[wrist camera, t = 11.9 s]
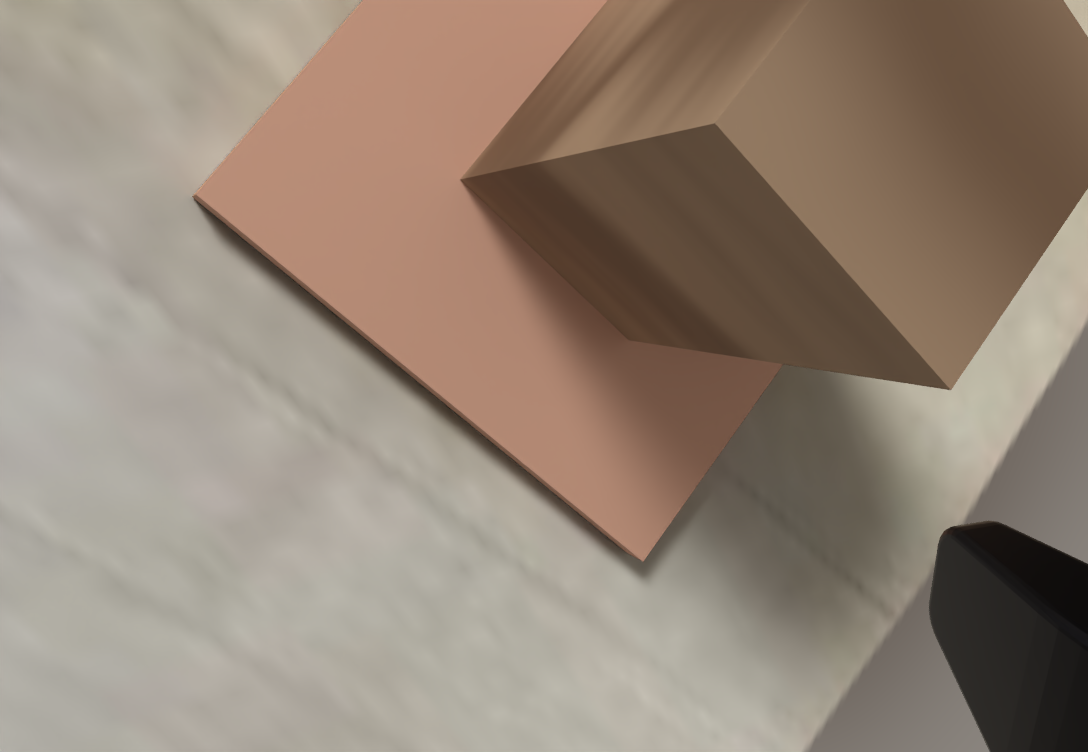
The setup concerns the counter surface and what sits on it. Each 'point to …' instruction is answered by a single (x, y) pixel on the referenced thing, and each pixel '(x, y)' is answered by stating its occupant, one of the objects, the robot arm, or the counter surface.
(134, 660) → the counter surface
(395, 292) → the terracotta mat
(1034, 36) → the walnut block
